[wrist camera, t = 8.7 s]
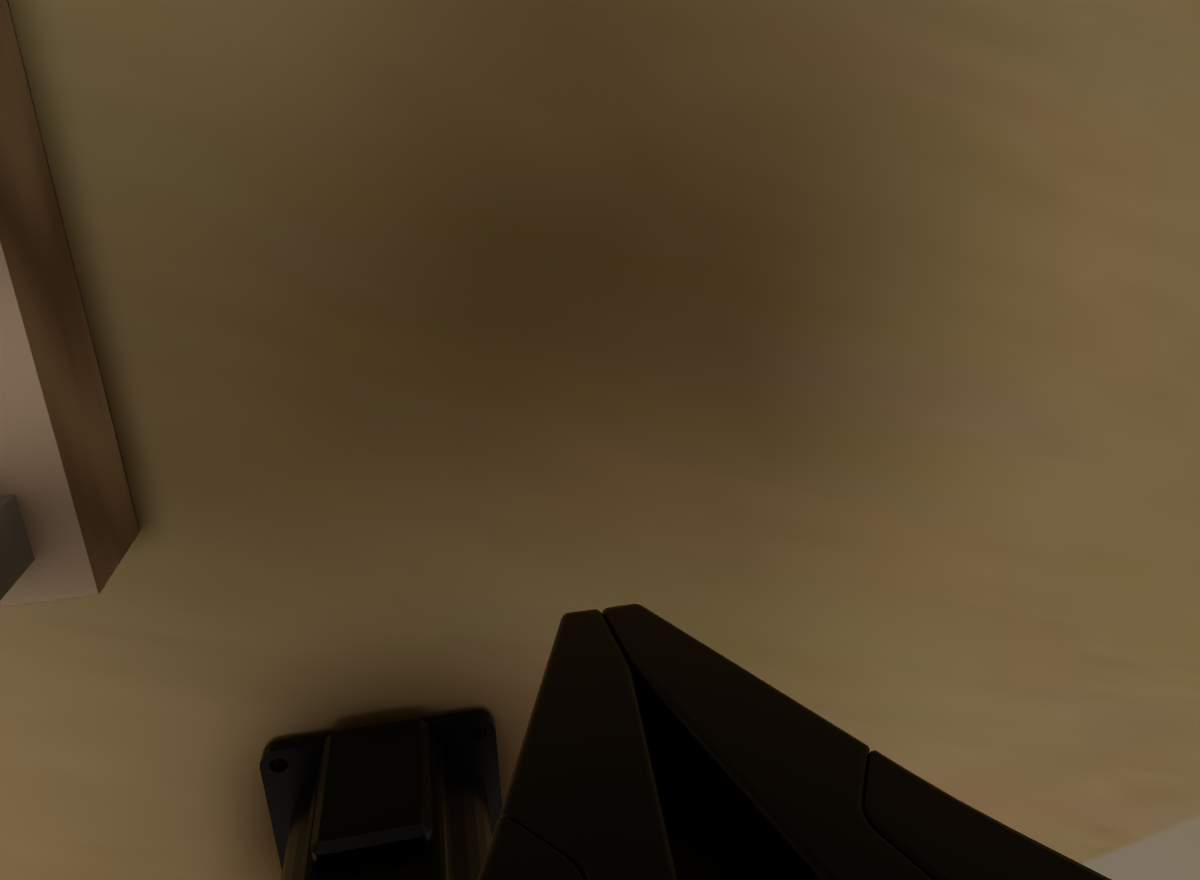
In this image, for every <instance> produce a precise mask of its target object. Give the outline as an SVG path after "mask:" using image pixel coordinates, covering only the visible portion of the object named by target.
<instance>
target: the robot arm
mask: <svg viewBox="0 0 1200 880" xmlns="http://www.w3.org/2000/svg"><path fill="white" fill-rule="evenodd" d="M476 726H483V727H484V728H483V729H482V730H480V731H473V730H471V729H472V728H473V727H476ZM275 758H284V759H286V760H287V761H285V762H276V761H274V760H273V759H275ZM260 771H261V775H262V780H263V785H264V789H265V794H266V798H267V803H268V808H269V812H270V817H271V822H272V826H273V831H274V835H275V840H276V845H277V849H278V854H279V859H280V863H281V868H282V875H281V880H1111V879H1109V878H1107V877H1105V876H1103V875H1101V874H1099V873H1097V872H1095V871H1093V870H1091V869H1090V868H1088V867H1086V866H1084V865H1082V864H1080V863H1078V862H1076V861H1074V860H1072V859H1070V858H1068V857H1066V856H1064V855H1062V854H1060V853H1058V852H1056V851H1054V850H1052V849H1050V848H1049V847H1047V846H1045V845H1043V844H1041V843H1039V842H1037V841H1035V840H1033V839H1031V838H1029V837H1027V836H1025V835H1023V834H1021V833H1019V832H1017V831H1015V830H1014V829H1012V828H1010V827H1008V826H1006V825H1004V824H1002V823H1000V822H999V821H997V820H995V819H993V818H991V817H989V816H987V815H986V814H984V813H982V812H980V811H978V810H976V809H974V808H972V807H971V806H969V805H967V804H965V803H963V802H961V801H959V800H958V799H956V798H954V797H952V796H951V795H949V794H947V793H946V792H944V791H942V790H941V789H939V788H937V787H935V786H934V785H932V784H930V783H929V782H927V781H925V780H924V779H922V778H920V777H918V776H917V775H915V774H913V773H912V772H910V771H908V770H907V769H905V768H903V767H902V766H900V765H899V764H897V763H895V762H894V761H892V760H890V759H889V758H887V757H886V756H884V755H882V754H881V753H879V752H878V751H871V752H870V749H869V747H868V746H867V745H866V744H864V743H862V742H861V741H859V740H858V739H856V738H854V737H853V736H851V735H850V734H848V733H846V732H845V731H843V730H842V729H840V728H838V727H837V726H835V725H833V724H832V723H830V722H829V721H827V720H825V719H824V718H822V717H821V716H819V715H817V714H816V713H814V712H812V711H811V710H809V709H808V708H806V707H804V706H803V705H801V704H800V703H798V702H796V701H795V700H793V699H792V698H790V697H788V696H787V695H785V694H783V693H782V692H780V691H779V690H777V689H775V688H774V687H772V686H771V685H769V684H767V683H766V682H764V681H762V680H761V679H759V678H758V677H756V676H754V675H753V674H751V673H750V672H748V671H746V670H745V669H743V668H741V667H740V666H738V665H737V664H735V663H733V662H732V661H730V660H729V659H727V658H725V657H724V656H722V655H721V654H719V653H717V652H716V651H714V650H712V649H711V648H709V647H708V646H706V645H704V644H703V643H701V642H700V641H698V640H696V639H695V638H693V637H691V636H690V635H688V634H687V633H685V632H683V631H682V630H680V629H679V628H677V627H675V626H674V625H672V624H670V623H669V622H667V621H666V620H664V619H662V618H661V617H659V616H658V615H656V614H654V613H653V612H651V611H650V610H648V609H646V608H645V607H643V606H641V605H639V604H630V605H623V606H616V607H609V608H606V609H604V610H603V612H602V613H601V612H600V611H599V610H595V609H594V610H586V611H579V612H572V613H566V614H565V615H563V617H562V619H561V622H560V625H559V628H558V631H557V634H556V638H555V641H554V644H553V647H552V650H551V653H550V657H549V660H548V663H547V666H546V669H545V672H544V676H543V679H542V682H541V685H540V688H539V692H538V695H537V698H536V701H535V704H534V707H533V711H532V714H531V717H530V720H529V723H528V727H527V730H526V733H525V736H524V739H523V742H522V746H521V749H520V752H519V755H518V758H517V762H516V765H515V768H514V771H513V774H512V777H511V781H510V784H509V787H508V790H507V793H506V796H505V800H504V803H503V806H502V801H501V790H500V778H499V766H498V754H497V743H496V731H495V724H494V719H493V717H492V715H491V714H489V713H488V712H486V711H483V710H474V711H468V712H461V713H455V714H448V715H442V716H435V717H429V718H422V719H416V720H410V721H403V722H397V723H390V724H384V725H377V726H371V727H364V728H358V729H352V730H345V731H339V732H332V733H326V734H319V735H313V736H307V737H300V738H294V739H287V740H281V741H276V742H273V743H271V744H269V745H268V746H267V747H265V749H264V751H263V753H262V757H261V761H260Z"/></svg>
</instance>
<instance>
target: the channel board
mask: <svg viewBox="0 0 1200 880" xmlns="http://www.w3.org/2000/svg"><path fill="white" fill-rule="evenodd" d="M138 533H139V528H138V524H137V520H136V516H135V512H134V508H133V504H132V500H131V496H130V492H129V488H128V484H127V480H126V476H125V472H124V468H123V463H122V459H121V455H120V451H119V447H118V443H117V439H116V435H115V431H114V427H113V423H112V419H111V415H110V411H109V407H108V403H107V399H106V395H105V391H104V387H103V383H102V379H101V375H100V371H99V367H98V363H97V359H96V355H95V351H94V347H93V343H92V339H91V335H90V331H89V327H88V323H87V319H86V315H85V311H84V307H83V303H82V299H81V295H80V291H79V287H78V283H77V279H76V275H75V271H74V267H73V263H72V259H71V255H70V251H69V247H68V243H67V239H66V235H65V231H64V227H63V223H62V219H61V215H60V211H59V207H58V203H57V199H56V195H55V191H54V187H53V183H52V179H51V175H50V171H49V167H48V163H47V159H46V155H45V151H44V147H43V143H42V139H41V135H40V131H39V127H38V123H37V119H36V115H35V111H34V107H33V103H32V99H31V95H30V91H29V87H28V83H27V79H26V75H25V71H24V67H23V63H22V59H21V55H20V51H19V47H18V43H17V39H16V35H15V31H14V27H13V23H12V19H11V15H10V11H9V7H8V3H7V0H0V607H1V606H9V605H18V604H26V603H34V602H43V601H51V600H59V599H68V598H76V597H84V596H93V595H99V593H100V592H101V590H102V589H103V587H104V586H105V584H106V583H107V581H108V580H109V578H110V577H111V575H112V573H113V572H114V570H115V569H116V567H117V566H118V564H119V563H120V561H121V560H122V558H123V557H124V555H125V553H126V552H127V550H128V549H129V547H130V546H131V544H132V543H133V541H134V540H135V538H136V537H137V535H138Z"/></svg>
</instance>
